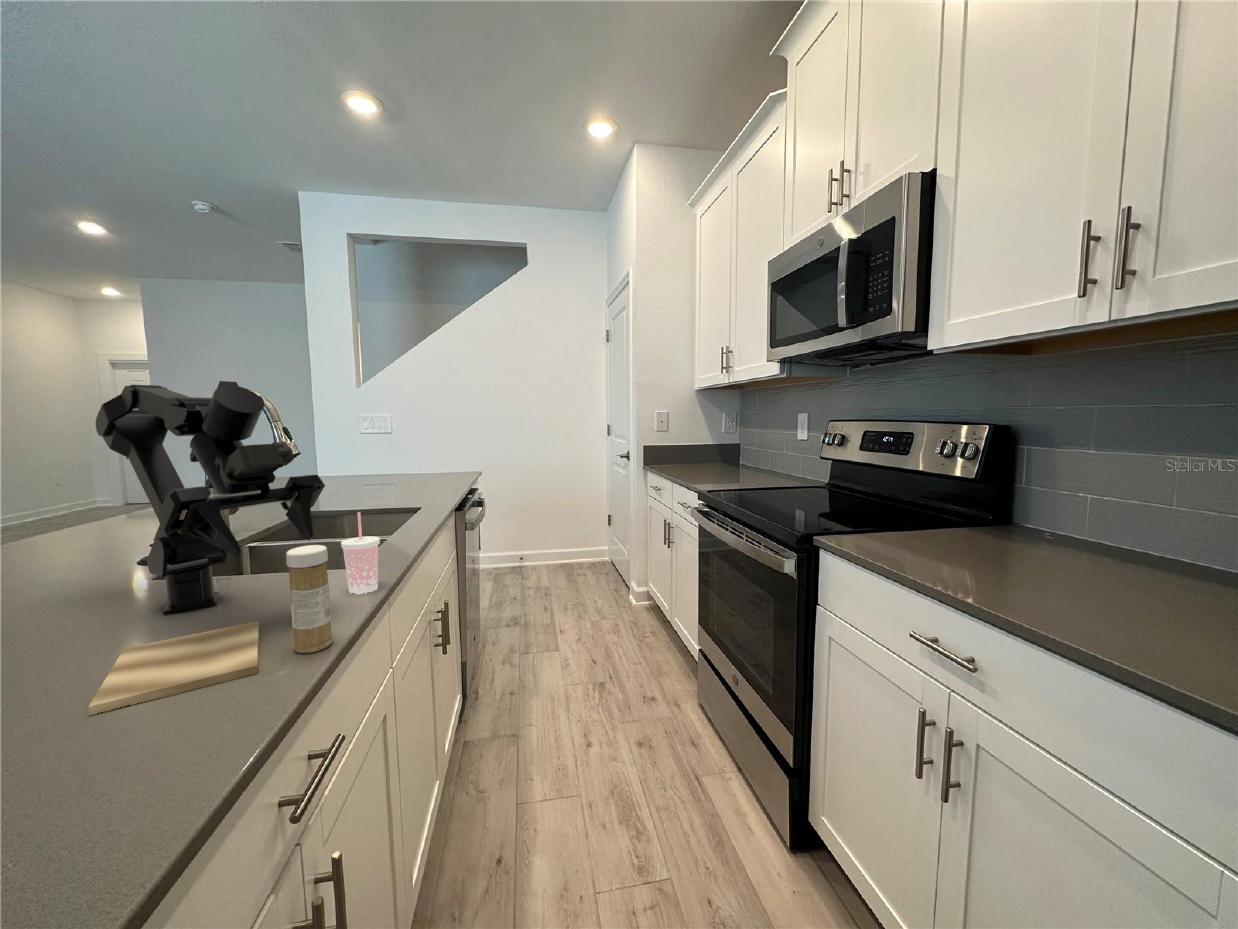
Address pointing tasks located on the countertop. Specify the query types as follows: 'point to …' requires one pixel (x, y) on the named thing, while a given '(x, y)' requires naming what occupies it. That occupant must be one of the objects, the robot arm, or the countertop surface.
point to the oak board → (179, 666)
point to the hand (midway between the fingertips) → (277, 545)
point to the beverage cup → (361, 562)
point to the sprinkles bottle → (310, 598)
